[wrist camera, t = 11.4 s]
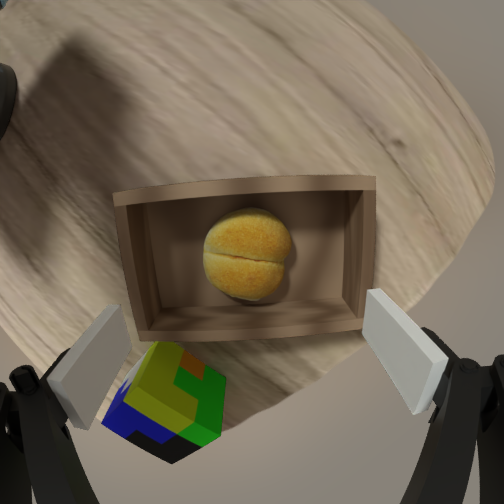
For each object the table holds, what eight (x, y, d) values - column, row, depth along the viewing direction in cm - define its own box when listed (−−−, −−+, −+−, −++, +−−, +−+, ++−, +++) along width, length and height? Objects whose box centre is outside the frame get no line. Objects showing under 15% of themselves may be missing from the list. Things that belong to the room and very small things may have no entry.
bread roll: (296, 215, 28) (304, 222, 24) (274, 297, 30) (278, 314, 27) (214, 197, 27) (209, 201, 24) (198, 281, 30) (191, 297, 26)
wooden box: (156, 313, 32) (140, 341, 26) (137, 188, 28) (112, 192, 22) (348, 302, 32) (367, 328, 26) (351, 174, 28) (375, 176, 22)
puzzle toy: (126, 374, 34) (101, 423, 25) (162, 333, 32) (137, 386, 23) (183, 411, 36) (171, 464, 27) (226, 377, 34) (220, 435, 25)
